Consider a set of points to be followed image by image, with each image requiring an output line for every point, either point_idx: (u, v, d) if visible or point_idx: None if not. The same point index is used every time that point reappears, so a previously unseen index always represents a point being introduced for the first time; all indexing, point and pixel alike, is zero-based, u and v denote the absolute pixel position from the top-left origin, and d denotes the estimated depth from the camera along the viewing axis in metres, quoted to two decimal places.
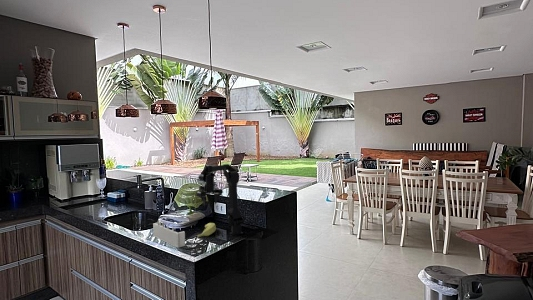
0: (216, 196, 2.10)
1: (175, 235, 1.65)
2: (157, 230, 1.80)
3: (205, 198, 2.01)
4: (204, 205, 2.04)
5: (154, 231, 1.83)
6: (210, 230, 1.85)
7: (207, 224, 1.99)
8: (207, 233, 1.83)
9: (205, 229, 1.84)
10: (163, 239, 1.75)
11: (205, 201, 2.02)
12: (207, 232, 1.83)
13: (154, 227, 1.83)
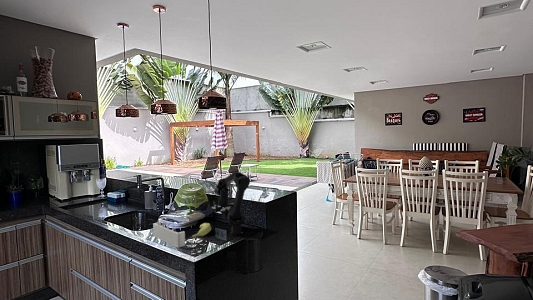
0: None
1: (175, 235, 1.65)
2: (157, 230, 1.80)
3: (225, 212, 1.98)
4: (224, 219, 2.01)
5: (154, 231, 1.83)
6: (205, 230, 1.85)
7: (202, 224, 1.98)
8: (202, 233, 1.83)
9: (200, 229, 1.84)
10: (163, 239, 1.75)
11: (225, 215, 1.99)
12: (202, 232, 1.83)
13: (154, 227, 1.83)
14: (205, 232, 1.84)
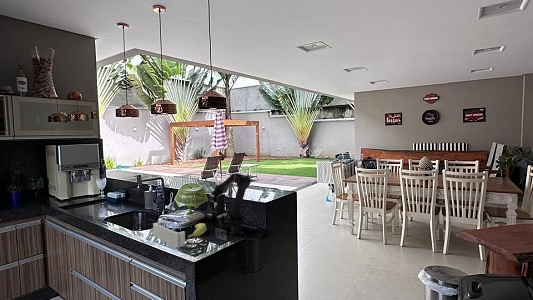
0: None
1: (175, 235, 1.65)
2: (157, 230, 1.80)
3: (221, 219, 1.96)
4: (220, 226, 1.99)
5: (154, 231, 1.83)
6: (201, 230, 1.84)
7: (197, 224, 1.98)
8: (198, 233, 1.83)
9: (196, 229, 1.84)
10: (163, 239, 1.75)
11: (221, 222, 1.97)
12: (198, 232, 1.83)
13: (154, 227, 1.83)
14: (201, 232, 1.84)
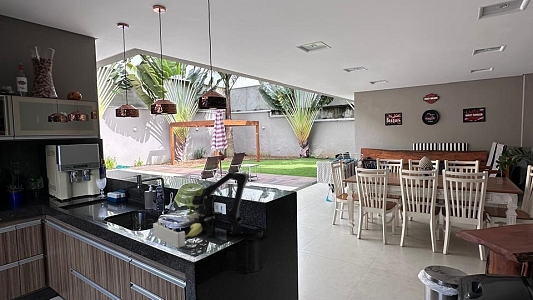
0: (210, 221, 1.92)
1: (175, 235, 1.65)
2: (157, 230, 1.80)
3: (209, 222, 1.89)
4: (208, 229, 1.92)
5: (154, 231, 1.83)
6: (197, 230, 1.84)
7: (193, 225, 1.98)
8: (194, 233, 1.82)
9: (191, 230, 1.83)
10: (163, 239, 1.75)
11: (209, 225, 1.90)
12: (194, 232, 1.82)
13: (154, 227, 1.83)
14: (196, 232, 1.84)
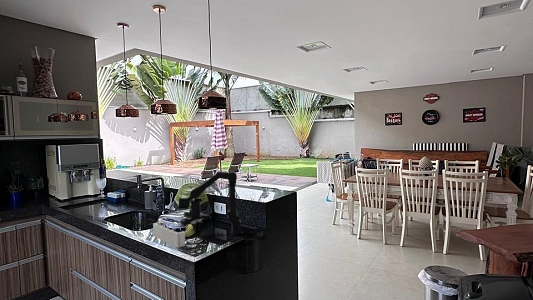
0: (197, 224, 1.85)
1: (175, 235, 1.65)
2: (157, 230, 1.80)
3: (196, 225, 1.82)
4: (195, 232, 1.85)
5: (154, 231, 1.83)
6: (191, 231, 1.84)
7: (188, 225, 1.97)
8: (188, 234, 1.82)
9: (186, 230, 1.83)
10: (163, 239, 1.75)
11: (196, 228, 1.83)
12: (188, 233, 1.82)
13: (154, 227, 1.83)
14: (191, 232, 1.83)
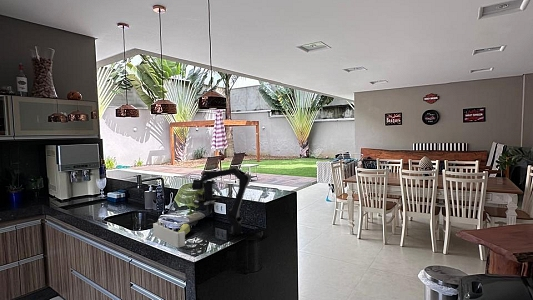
0: None
1: (175, 235, 1.65)
2: (157, 230, 1.80)
3: (209, 206, 1.89)
4: (208, 213, 1.91)
5: (154, 231, 1.83)
6: (184, 231, 1.83)
7: None
8: None
9: (179, 230, 1.82)
10: (163, 239, 1.75)
11: (209, 209, 1.90)
12: None
13: (154, 227, 1.83)
14: None
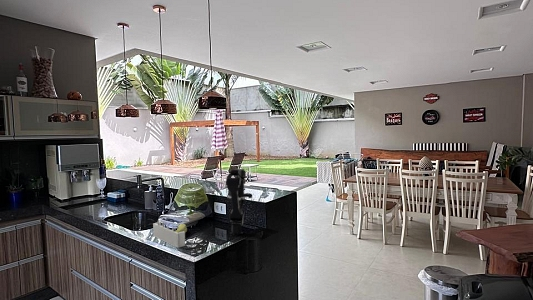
0: None
1: (175, 235, 1.65)
2: (157, 230, 1.80)
3: (241, 202, 2.00)
4: None
5: (154, 231, 1.83)
6: (181, 231, 1.83)
7: None
8: None
9: (176, 230, 1.82)
10: (163, 239, 1.75)
11: (240, 205, 2.01)
12: None
13: (154, 227, 1.83)
14: None
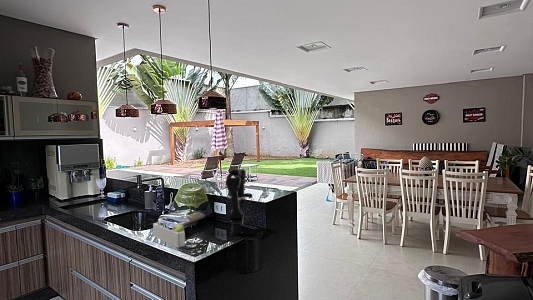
0: None
1: (175, 235, 1.65)
2: (157, 230, 1.80)
3: (241, 202, 2.00)
4: None
5: (154, 231, 1.83)
6: (179, 231, 1.83)
7: None
8: None
9: None
10: (163, 239, 1.75)
11: (241, 205, 2.01)
12: None
13: (154, 227, 1.83)
14: None
